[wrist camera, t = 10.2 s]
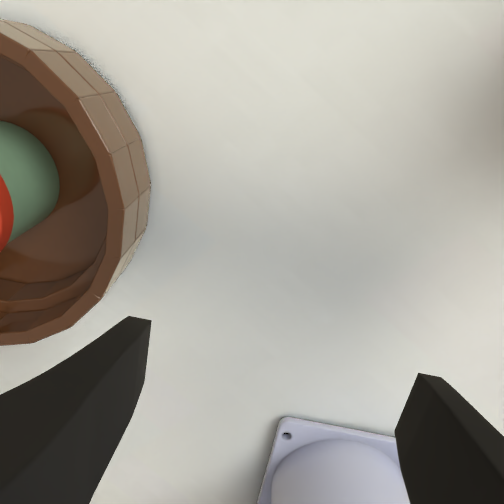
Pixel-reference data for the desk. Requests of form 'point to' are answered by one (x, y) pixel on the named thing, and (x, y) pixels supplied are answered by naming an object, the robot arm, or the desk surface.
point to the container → (24, 182)
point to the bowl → (68, 186)
